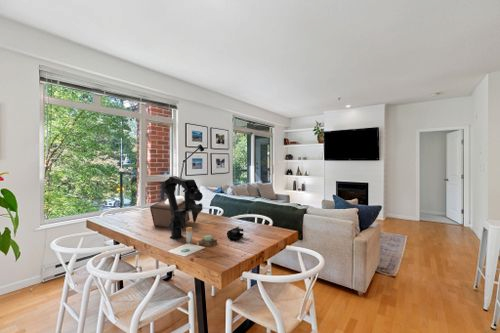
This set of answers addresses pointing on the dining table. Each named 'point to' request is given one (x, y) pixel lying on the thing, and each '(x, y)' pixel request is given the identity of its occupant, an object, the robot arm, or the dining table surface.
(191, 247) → the paper
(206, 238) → the button
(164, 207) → the tissue box
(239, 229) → the end cap
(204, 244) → the button housing
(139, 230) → the dining table surface
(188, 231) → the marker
